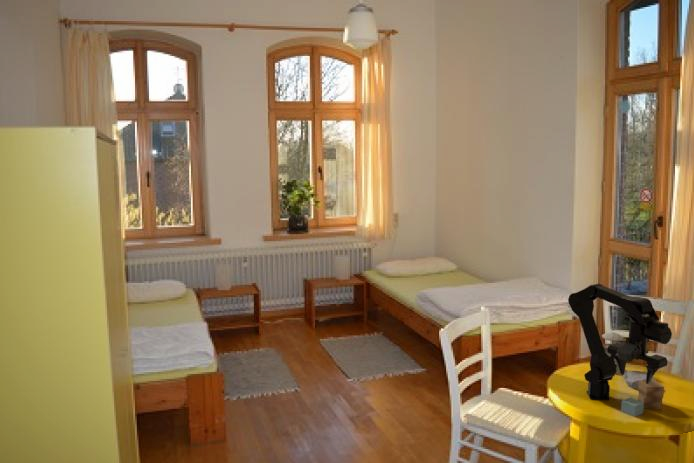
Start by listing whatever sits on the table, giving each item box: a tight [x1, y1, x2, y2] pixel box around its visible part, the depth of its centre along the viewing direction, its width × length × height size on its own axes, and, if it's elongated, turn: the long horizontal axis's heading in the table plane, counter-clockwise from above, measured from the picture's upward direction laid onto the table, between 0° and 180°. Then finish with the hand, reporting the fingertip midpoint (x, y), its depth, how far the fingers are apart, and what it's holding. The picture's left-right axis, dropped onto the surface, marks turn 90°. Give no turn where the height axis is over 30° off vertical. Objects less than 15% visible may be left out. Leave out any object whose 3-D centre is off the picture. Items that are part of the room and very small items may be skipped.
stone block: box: [622, 370, 656, 391], centre depth 239 cm, size 12×5×10 cm
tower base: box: [637, 391, 663, 410], centre depth 221 cm, size 6×6×4 cm
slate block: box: [620, 397, 645, 417], centre depth 215 cm, size 5×5×4 cm
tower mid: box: [637, 379, 665, 399], centre depth 220 cm, size 6×6×4 cm
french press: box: [601, 309, 624, 375], centre depth 251 cm, size 10×12×25 cm
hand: (634, 379), depth 213 cm, fingers open, 9 cm apart
